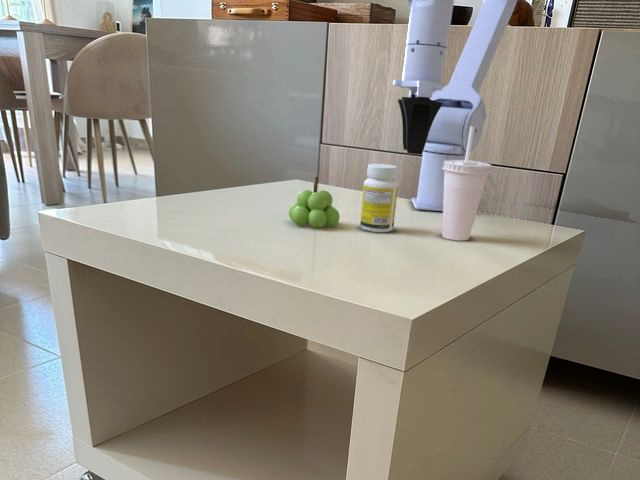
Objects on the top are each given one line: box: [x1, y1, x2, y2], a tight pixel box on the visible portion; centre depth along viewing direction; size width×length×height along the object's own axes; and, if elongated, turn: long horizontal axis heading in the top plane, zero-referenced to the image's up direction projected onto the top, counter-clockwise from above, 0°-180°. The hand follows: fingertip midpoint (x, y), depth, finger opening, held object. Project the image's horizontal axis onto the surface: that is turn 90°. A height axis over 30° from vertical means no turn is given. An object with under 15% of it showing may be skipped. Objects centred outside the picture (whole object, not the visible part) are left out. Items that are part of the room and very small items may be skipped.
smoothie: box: [441, 127, 493, 242], centre depth 84 cm, size 6×6×14 cm
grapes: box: [288, 175, 341, 229], centre depth 87 cm, size 7×7×6 cm
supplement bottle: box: [359, 163, 399, 233], centre depth 87 cm, size 5×5×8 cm
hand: (412, 152), depth 94 cm, fingers open, 7 cm apart
